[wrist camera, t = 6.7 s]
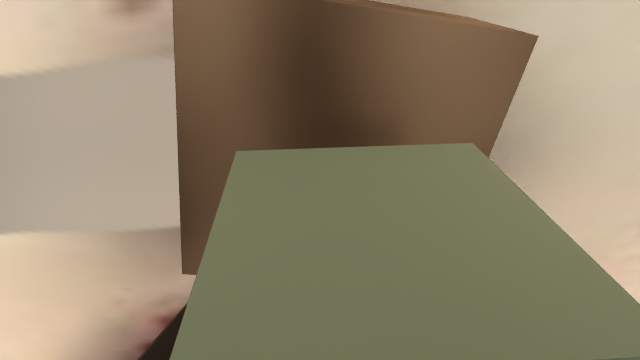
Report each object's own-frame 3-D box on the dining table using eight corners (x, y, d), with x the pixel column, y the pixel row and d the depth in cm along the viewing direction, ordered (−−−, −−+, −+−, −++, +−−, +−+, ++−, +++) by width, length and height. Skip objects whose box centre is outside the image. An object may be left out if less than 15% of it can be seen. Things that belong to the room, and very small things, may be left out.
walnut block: (466, 16, 15) (538, 36, 10) (402, 219, 20) (432, 290, 15) (210, -27, 14) (171, -26, 9) (208, 202, 18) (182, 273, 14)
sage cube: (472, 143, 8) (690, 352, 4) (438, 307, 10) (541, 549, 6) (236, 151, 8) (161, 387, 3) (258, 317, 10) (232, 577, 6)
